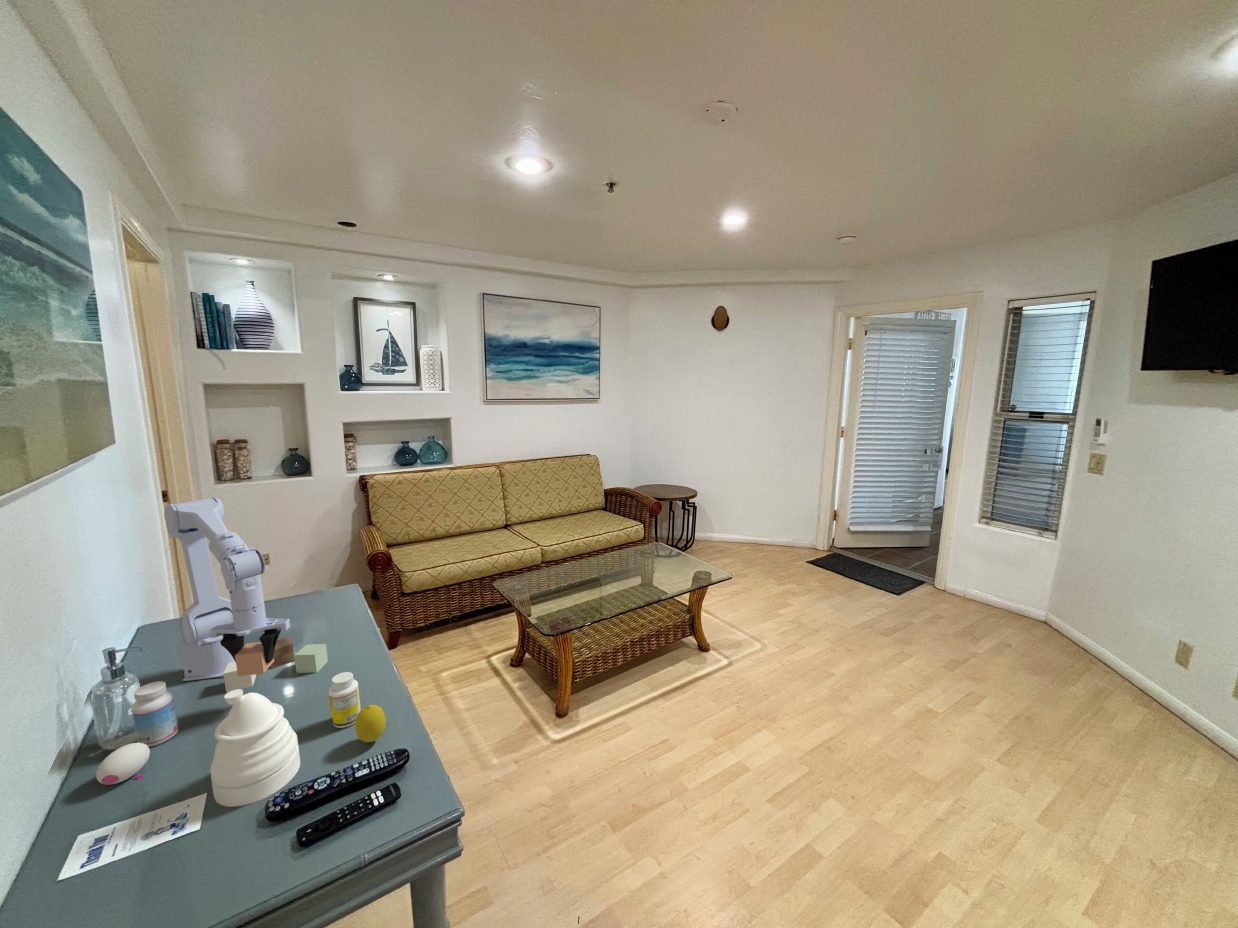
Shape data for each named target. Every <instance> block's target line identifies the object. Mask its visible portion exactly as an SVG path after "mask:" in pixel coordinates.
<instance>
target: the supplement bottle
mask: <svg viewBox="0 0 1238 928" xmlns="http://www.w3.org/2000/svg"><path fill="white" fill-rule="evenodd" d="M328 698H329V708H330V709H329V710H330V716H331V717H330V718H331V724H332V725H333V727H335V728H337V729H338V728H339V729H342V728H348V727H350V726H353V725H355V721H356V717H357V715H358V713H359V712H360V711H361V710H362V708H361V707H362V706H361V698H360V688H359V682H358V681H357V679H354V673H352V672H351V671H344V672H340V673H337V674H336V675H334V676H333V677H332V679H331V686H330V687H329V689H328Z"/></svg>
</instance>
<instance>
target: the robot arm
mask: <svg viewBox="0 0 1238 928" xmlns="http://www.w3.org/2000/svg"><path fill="white" fill-rule="evenodd" d="M163 515H164V522H165V526H166V529H167V533H168V535H169V537H170V538H173V539H174V538H175V539H179V542H180V544H181V547H182V552H183V557H184V561H185V566H186V571H187V576H188V580H189V585H190V589H191V593H192V599H193V602H192V603H191V605H189V607H187V608H186V609H185V610H184V611H183V613H182V614H181V622H182V624H181V629H182V635H183V636H184V637H183V638H184V639H185V641H186V642H184V645H183V646H182V649H181V662H182V667H183V675H184V677H183V679H182V681H183V682H187V681H188V682H189V681H196V680H204V679H213V678H224V671H225V669H226V667H227V665H228V663H230V662H236V660H235V655H236V654H237V653H238V652H239V651H240V650H241V649H242V648H243V647H244V646H245V636H247V635H249V634H253V633H262V632H264V633H262V635H260V637H259V638H258V639H259V642H261V643H262V646H263V649H264V655H265V661H266V663H270V662H271V661H272V660H273V659H274V651H275V646H276V642H277V640H279V637H280V634H281V632H286V631H288V630H289V628H291V623H290V621H291V620H290V618H272V617H271V618H270V617H267V614H266V606H265V598H264V589H263V583H262V575H263V574H264V573H265V570H266V564H265V559H264V556H263V554H262V552H261V551H260V549H258V548H254V547H249V546H248V545H247V544H246V543H245V541H244V540H243V539H242V538H241V536H240V535H239V534H238V533H236V532H234V531H229V530H228V528H227V526H226V525H225V523H224V522H223V521H224V517H225V507H224V505H223V502H222V500H221V499H220V498H218V497H216V496H213V497H210V498H204V499H198V500H191V501H185V502H179V503H169V504H167V505H166V507H165V508H164V514H163ZM208 540H209V543H208ZM210 552H211V553H210ZM211 554H212V555H213V556H214V558H215V559H216V560H217V562H218V563H219V564H220V570H221V571H220V572H221V574H222V577H223V580H224V584H225V587H226V589H227V590H228V592H229V598H225V597H222V596H219V591H218V586H217V583H216V576H215V571H214V567H213V564H212V557H211Z"/></svg>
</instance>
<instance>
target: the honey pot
mask: <svg viewBox="0 0 1238 928" xmlns="http://www.w3.org/2000/svg"><path fill="white" fill-rule="evenodd" d="M223 698H224V700H225V702H226V703H227V704H228V705H230V706H231V705H232V707H231V709H230V711H229V712H228V714H227V717H226V718H223V720H222V721H221V722H220V723H219V724H218V725H217V727H216V728H215V730H214V737H215V740H216V741H217V744H216V745H215V748H214V749H215V751H214V755H213V760H212V762H211V764H210V769H209V772H210V775H211V776H210V779H211V780H210V781H211V787H212V792H213V797H214V798H213V799H214V800H215V802H216V803H217V804H219V805H221V806H224V807H229V808H232V807H242V806H246V805H250V804H253V803H256V802H258V801H261V800H264V799H265V798H268V797H269V796H272V795H273V794H276V793H277V791H279V790H280V789H282V788H283V787H285V786H286V785H287V784H288V783H289V782H290V781H291V780H292V779H293V778H294V777H295V775H296V774H297V773H298V772H299V769H300V767H301V757H300V755H301V754H300V748H299V741H298V735H297V733H296V732H295V731H294V729H293V728H292V726H291V725H290V722H289V721H288V720H287V718H286V717H284V715H285V710H284V708H283V706H282V705H281V704H279V703H274V702H272V701H271V700H270V699H269V698H267V697H266V696H264V695H263V694H260V693H258V692H248V693H245V694H244V689H237V690H233V691H230V692H227V693H226V694H225V695H224V696H223Z"/></svg>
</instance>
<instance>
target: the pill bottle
mask: <svg viewBox="0 0 1238 928" xmlns="http://www.w3.org/2000/svg"><path fill="white" fill-rule="evenodd" d="M133 696H134V700H135V702H134V703H133V704H132V707H131V714H132V719H133V725H134V730H135V735H136V740H137V742H136V743H143V744H146V745H147V746H148V747H149V748H151V747H155V746H158V745H161V744H163V743H165V742H168V740H170V739H172V738H174V736H176V735H177V733H178V731H179V725H178V724H179V723H178V717H177V712H176V706H175V701H174V696H173V694H172V693H171V692H169V691H167V684H166V681H163V680H162V681H161V680H160V681H159V680H158V681H153V682H149V683H147V684H144V685H142V686H140V687H138V688H137V689H136V690H134V692H133Z"/></svg>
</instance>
